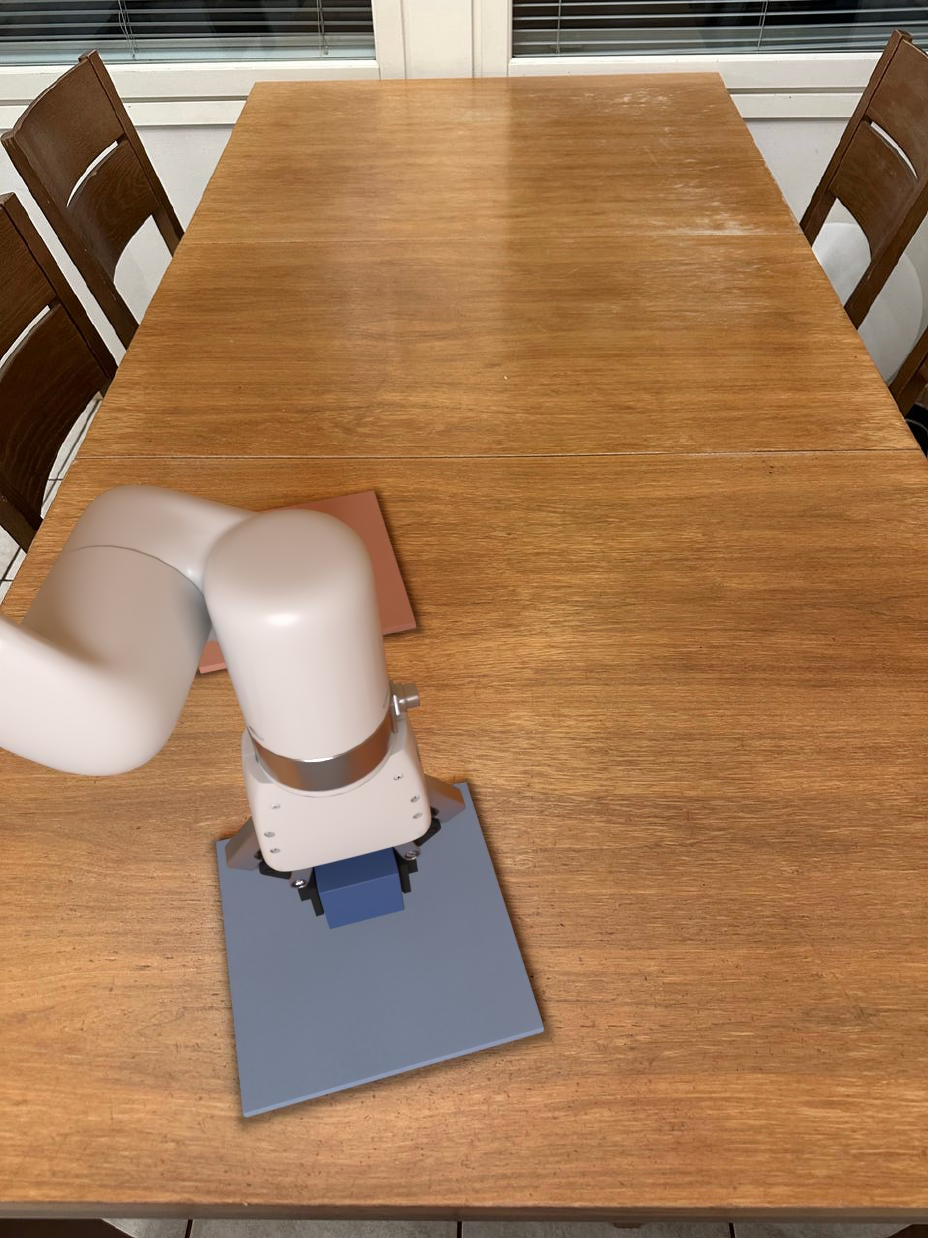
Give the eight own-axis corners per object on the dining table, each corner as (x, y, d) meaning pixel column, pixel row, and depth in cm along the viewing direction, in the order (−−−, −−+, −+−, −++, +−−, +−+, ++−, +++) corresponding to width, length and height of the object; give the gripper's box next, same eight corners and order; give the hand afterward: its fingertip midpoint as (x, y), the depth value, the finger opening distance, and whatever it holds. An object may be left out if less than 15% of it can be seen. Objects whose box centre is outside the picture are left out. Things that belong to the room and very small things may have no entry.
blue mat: (245, 1118, 60) (242, 1114, 60) (218, 846, 73) (215, 841, 73) (543, 1032, 63) (544, 1027, 63) (466, 786, 77) (466, 781, 76)
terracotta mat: (200, 674, 85) (198, 668, 85) (186, 530, 98) (184, 525, 98) (416, 628, 88) (416, 622, 88) (374, 495, 102) (374, 489, 101)
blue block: (329, 930, 61) (318, 894, 57) (317, 862, 64) (306, 824, 61) (405, 910, 62) (399, 873, 58) (389, 844, 65) (382, 806, 61)
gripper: (460, 636, 53) (468, 807, 67) (154, 703, 51) (226, 867, 64) (498, 741, 48) (498, 903, 62) (160, 821, 46) (237, 972, 59)
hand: (359, 883), depth 63 cm, fingers closed on blue block, 5 cm apart
